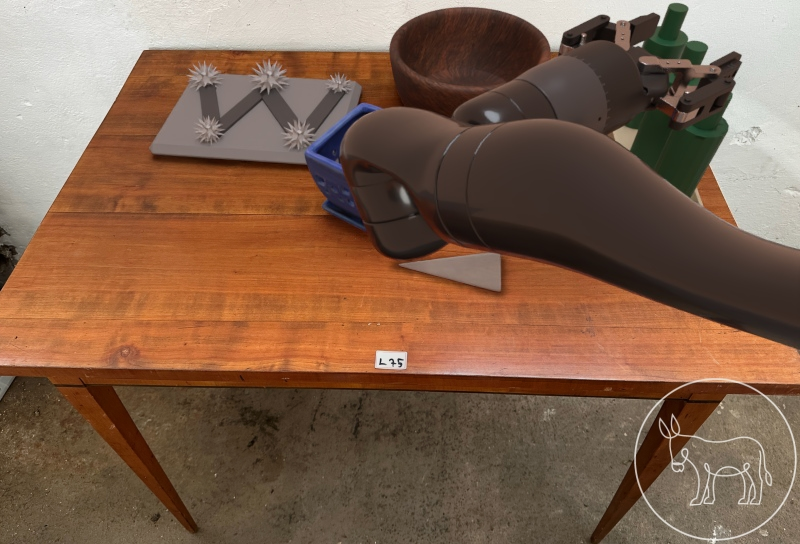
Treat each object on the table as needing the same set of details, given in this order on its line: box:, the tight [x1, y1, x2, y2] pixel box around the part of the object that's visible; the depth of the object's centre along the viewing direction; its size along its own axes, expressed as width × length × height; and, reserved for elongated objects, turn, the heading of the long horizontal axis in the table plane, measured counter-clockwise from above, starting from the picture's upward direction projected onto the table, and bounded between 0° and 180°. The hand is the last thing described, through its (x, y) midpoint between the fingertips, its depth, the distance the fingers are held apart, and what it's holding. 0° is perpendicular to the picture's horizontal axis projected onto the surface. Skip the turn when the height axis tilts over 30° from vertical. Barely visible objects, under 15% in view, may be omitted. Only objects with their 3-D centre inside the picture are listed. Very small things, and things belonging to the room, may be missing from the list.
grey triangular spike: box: [398, 252, 502, 292], centre depth 68 cm, size 6×5×13 cm
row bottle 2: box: [630, 40, 709, 169], centre depth 74 cm, size 6×6×18 cm
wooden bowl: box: [388, 6, 552, 118], centre depth 88 cm, size 25×25×10 cm
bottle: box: [654, 91, 734, 198], centre depth 68 cm, size 6×6×18 cm
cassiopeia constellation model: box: [148, 59, 363, 166], centre depth 86 cm, size 30×22×7 cm
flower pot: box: [304, 102, 384, 233], centre depth 71 cm, size 13×13×12 cm
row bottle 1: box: [624, 2, 689, 130], centre depth 80 cm, size 6×6×18 cm
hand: (692, 42), depth 50 cm, fingers open, 8 cm apart
